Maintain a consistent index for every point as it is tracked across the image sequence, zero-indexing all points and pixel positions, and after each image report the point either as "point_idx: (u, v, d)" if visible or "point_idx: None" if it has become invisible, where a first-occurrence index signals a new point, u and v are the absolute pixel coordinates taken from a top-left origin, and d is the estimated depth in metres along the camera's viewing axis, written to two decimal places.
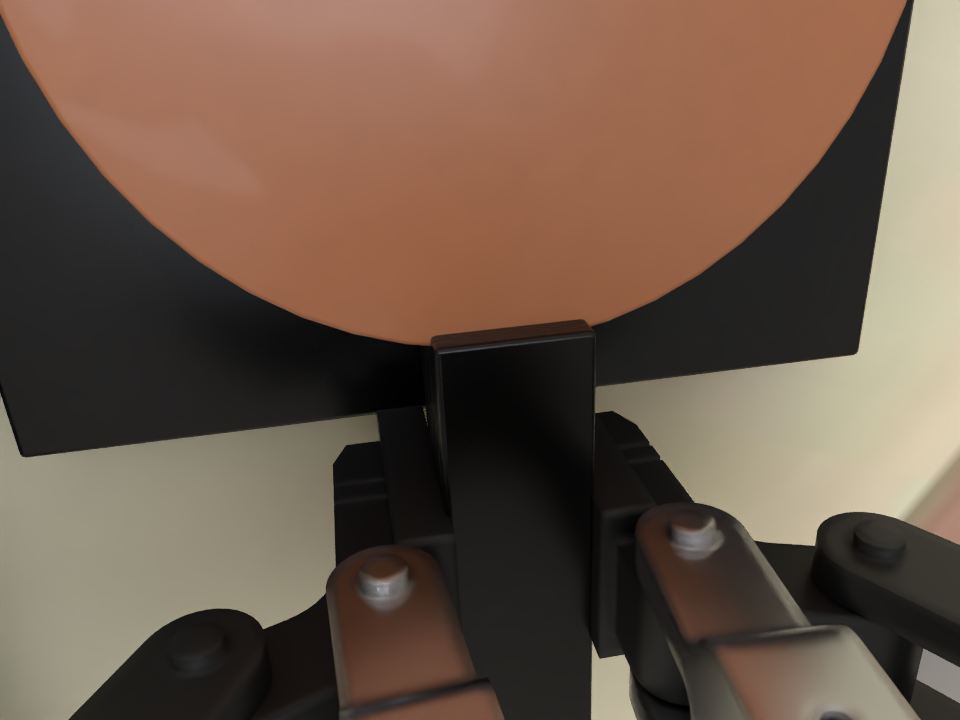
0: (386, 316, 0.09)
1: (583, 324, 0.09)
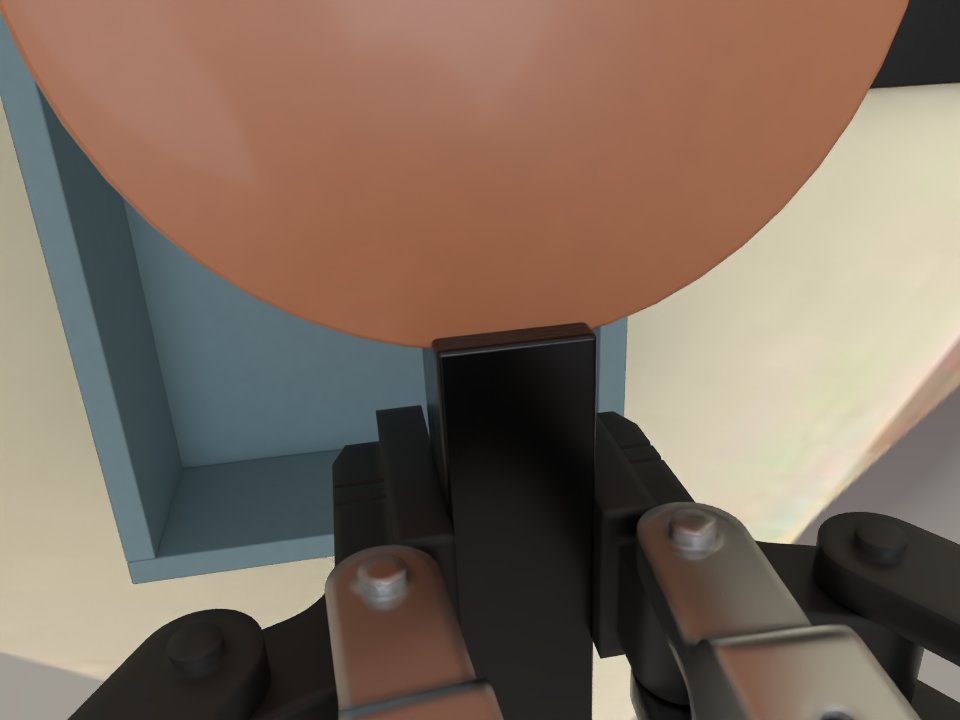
0: (387, 319, 0.09)
1: (584, 327, 0.09)
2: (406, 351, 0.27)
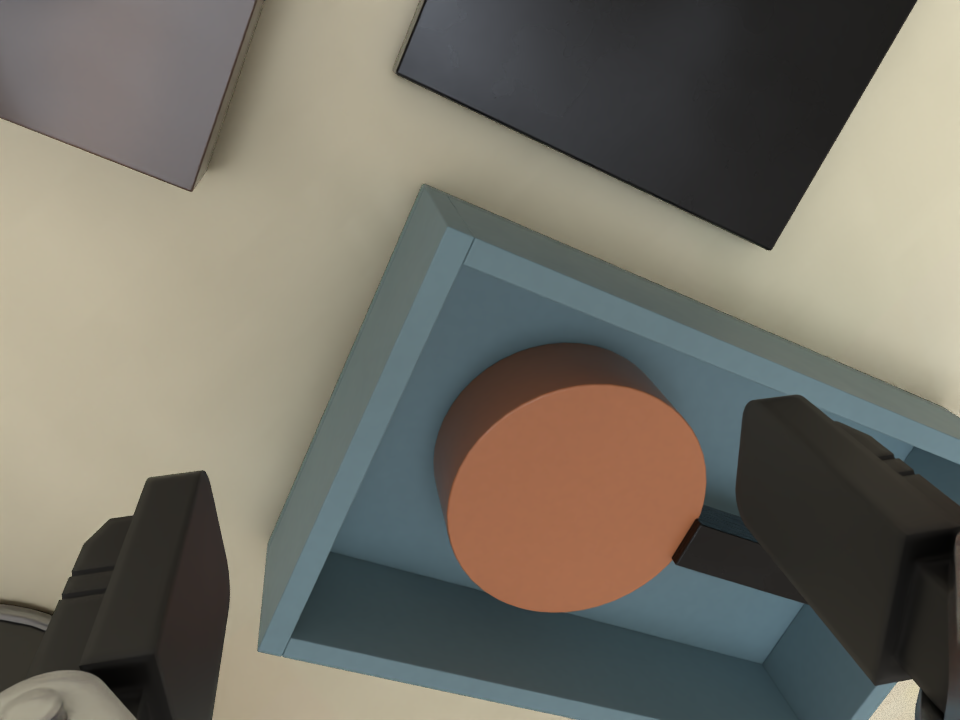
0: (657, 566, 0.29)
1: (696, 523, 0.28)
2: None
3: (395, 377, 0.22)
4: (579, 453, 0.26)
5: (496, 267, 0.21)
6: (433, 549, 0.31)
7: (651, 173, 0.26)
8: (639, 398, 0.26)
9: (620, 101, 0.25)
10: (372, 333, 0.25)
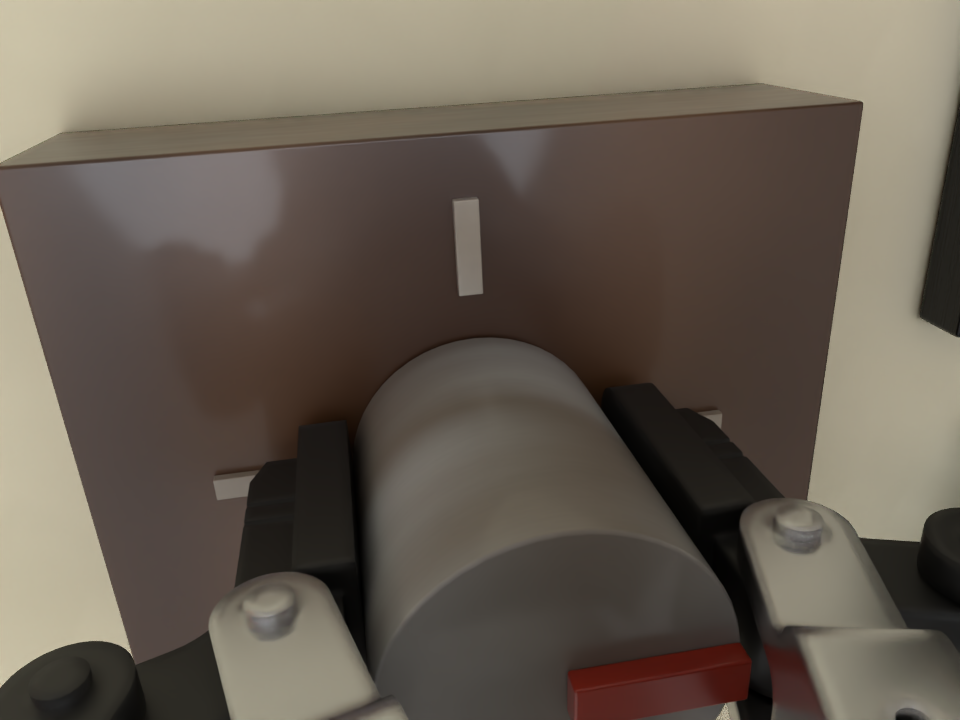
0: None
1: None
2: None
3: None
4: None
5: None
6: None
7: None
8: None
9: None
10: None
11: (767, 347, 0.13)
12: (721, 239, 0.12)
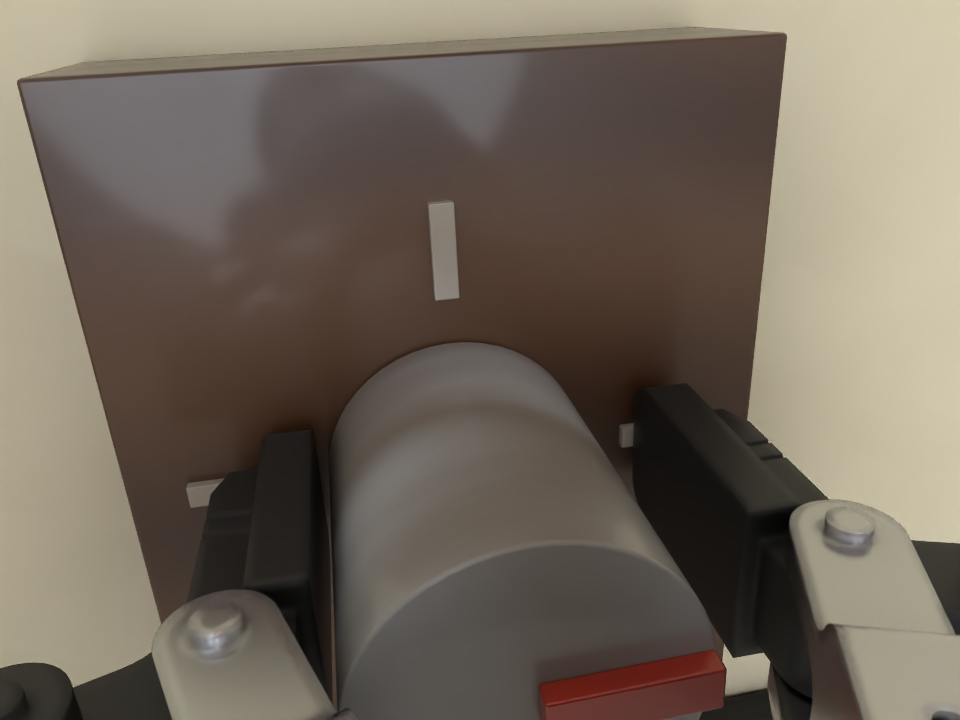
0: None
1: None
2: None
3: None
4: None
5: None
6: None
7: None
8: None
9: None
10: None
11: None
12: None
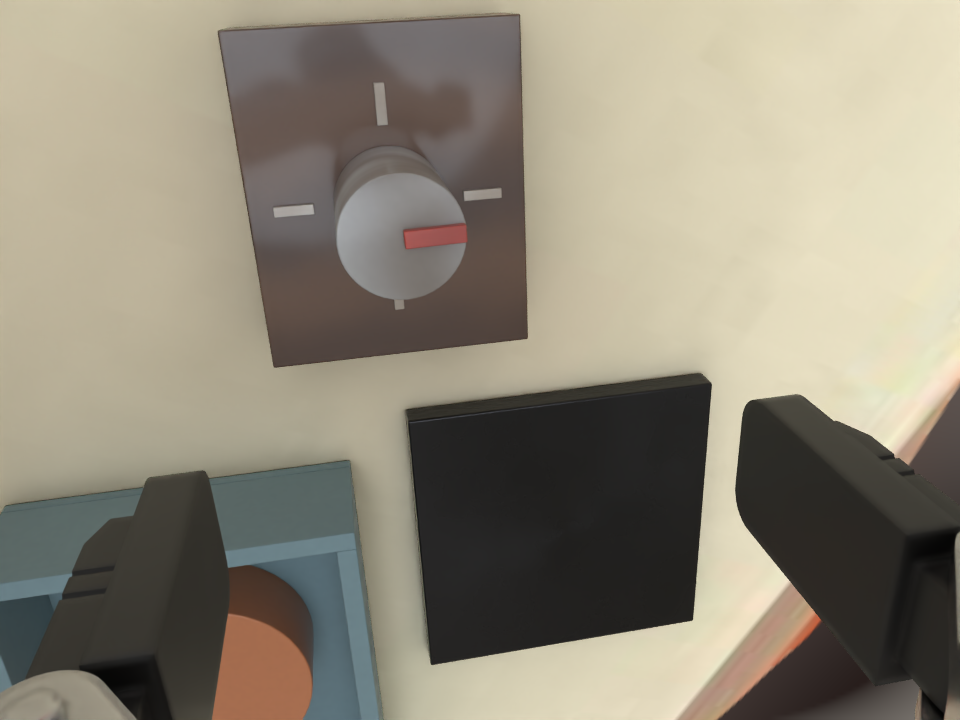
0: None
1: None
2: None
3: (239, 558, 0.31)
4: (246, 670, 0.35)
5: (345, 569, 0.32)
6: None
7: (435, 579, 0.39)
8: (306, 677, 0.36)
9: (464, 539, 0.38)
10: (241, 502, 0.34)
11: (432, 323, 0.31)
12: (479, 295, 0.31)
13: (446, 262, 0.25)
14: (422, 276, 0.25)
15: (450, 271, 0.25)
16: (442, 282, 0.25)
